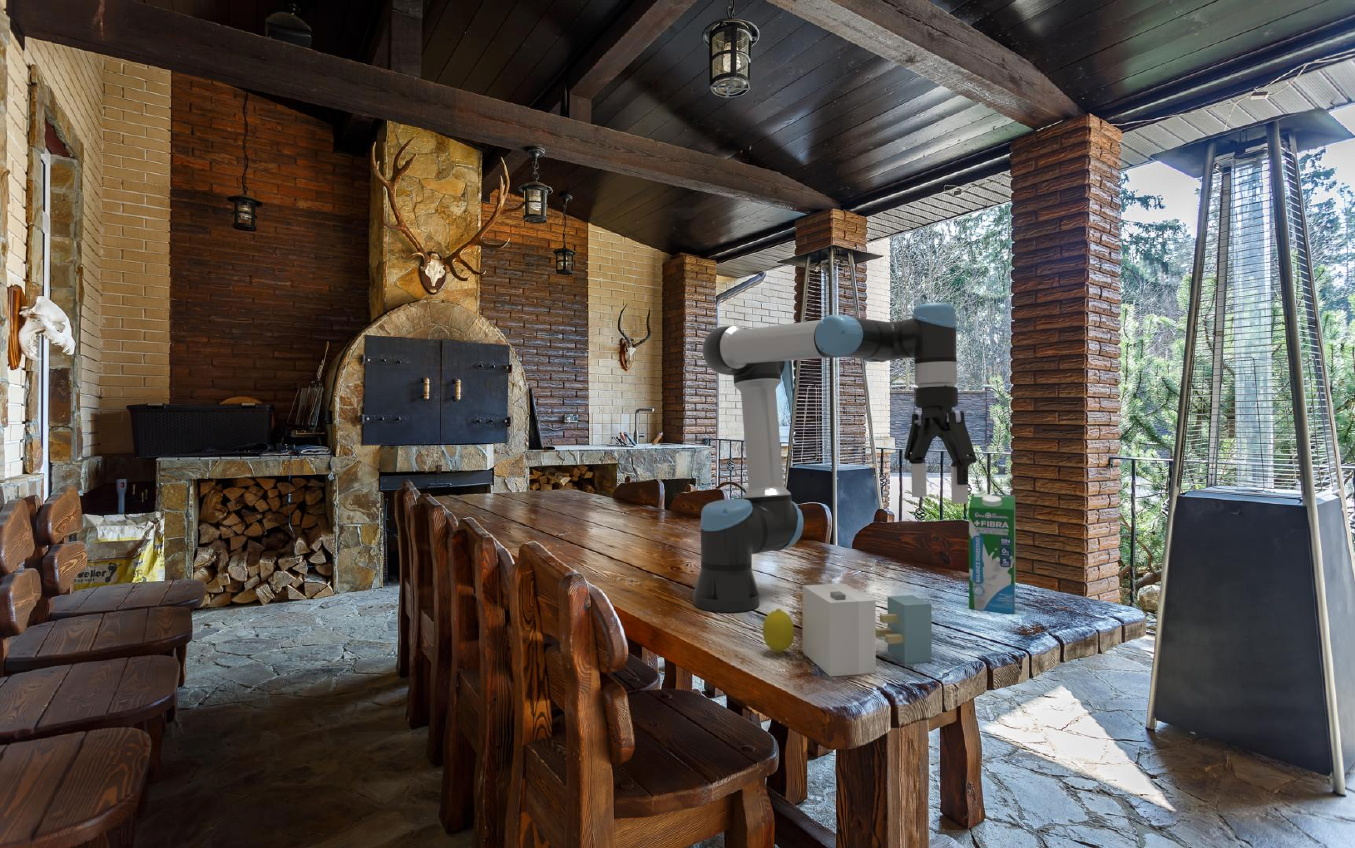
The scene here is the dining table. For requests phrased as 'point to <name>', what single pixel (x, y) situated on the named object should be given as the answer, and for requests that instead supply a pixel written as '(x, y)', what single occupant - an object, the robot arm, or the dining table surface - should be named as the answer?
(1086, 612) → the dining table surface
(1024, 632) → the dining table surface
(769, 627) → the lemon
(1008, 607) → the milk carton
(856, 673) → the socket
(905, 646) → the plug
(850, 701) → the dining table surface
